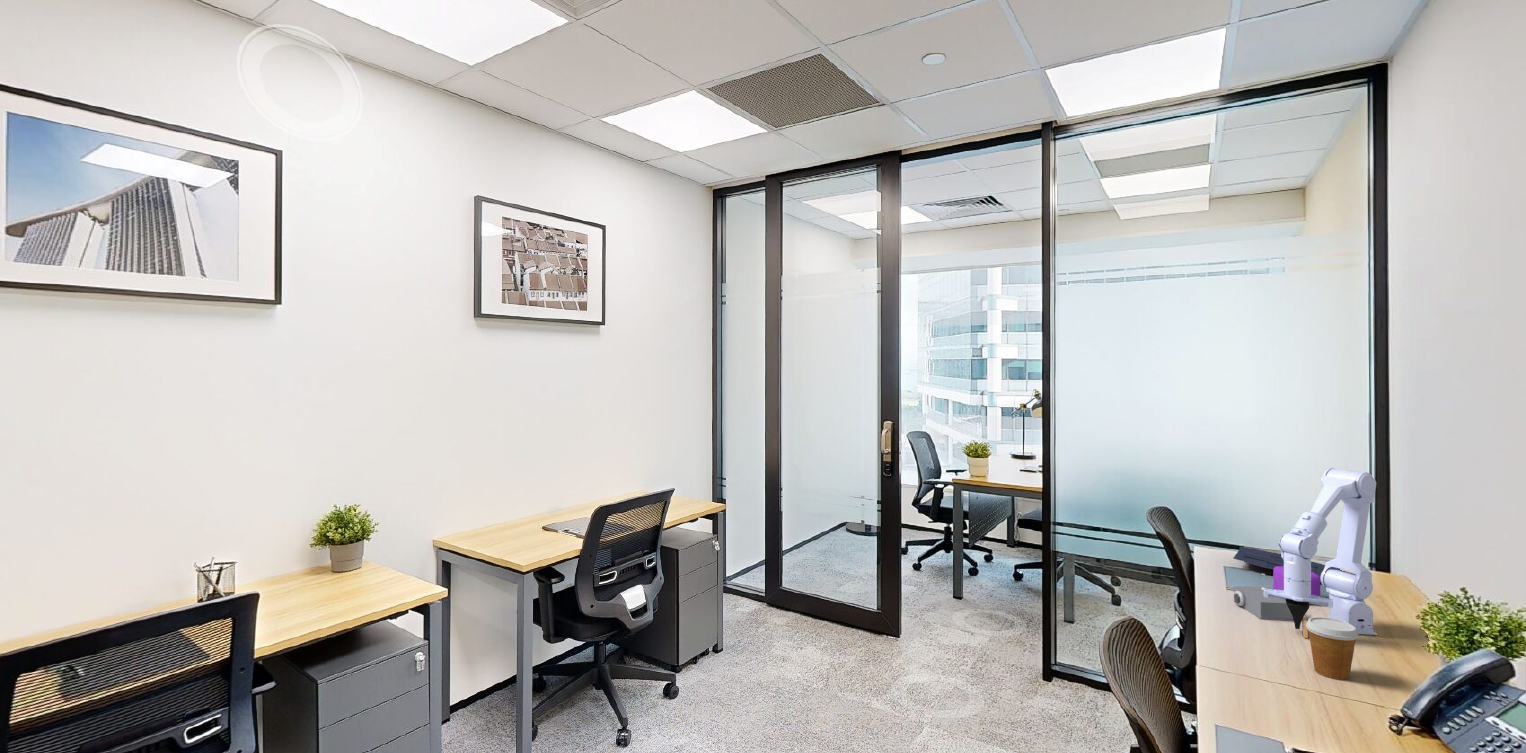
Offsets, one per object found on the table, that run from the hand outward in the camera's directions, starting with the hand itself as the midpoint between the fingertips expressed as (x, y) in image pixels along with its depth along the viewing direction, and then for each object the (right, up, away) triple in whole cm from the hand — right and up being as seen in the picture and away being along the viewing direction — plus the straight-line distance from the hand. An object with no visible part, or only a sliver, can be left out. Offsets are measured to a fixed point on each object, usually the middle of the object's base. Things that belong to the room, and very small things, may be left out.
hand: (1297, 628), depth 177 cm
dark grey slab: (+42, -1, +54) cm, 68 cm away
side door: (+4, -2, +3) cm, 5 cm away
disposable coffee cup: (-10, -3, -22) cm, 24 cm away
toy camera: (+22, -2, +28) cm, 35 cm away
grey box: (+5, -2, +17) cm, 18 cm away
